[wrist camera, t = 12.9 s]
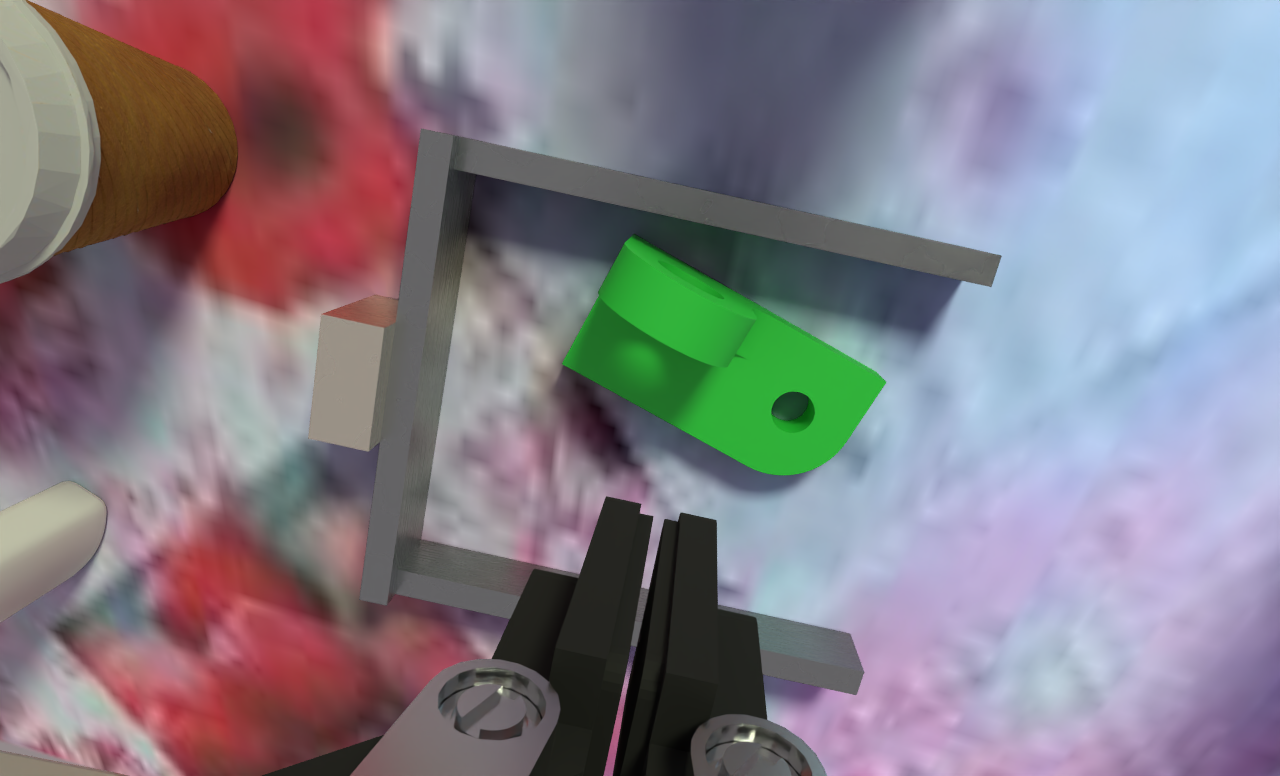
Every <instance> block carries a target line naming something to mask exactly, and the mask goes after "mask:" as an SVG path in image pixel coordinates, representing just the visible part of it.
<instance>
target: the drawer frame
mask: <svg viewBox="0 0 1280 776" xmlns="http://www.w3.org/2000/svg"><path fill="white" fill-rule="evenodd" d="M476 174H479V175H483V176H488V177H492V178H497V179H501V180H506V181H510V182H515V183H520V184H524V185H529V186H533V187H538V188H542V189H547V190H551V191H556V192H561V193H565V194H570V195H574V196H579V197H583V198H588V199H592V200H597V201H602V202H606V203H611V204H615V205H620V206H624V207H629V208H634V209H638V210H643V211H647V212H652V213H656V214H661V215H665V216H670V217H675V218H679V219H684V220H688V221H693V222H697V223H702V224H706V225H711V226H716V227H720V228H725V229H729V230H734V231H738V232H743V233H747V234H752V235H757V236H761V237H766V238H770V239H775V240H779V241H784V242H789V243H793V244H798V245H802V246H807V247H811V248H816V249H820V250H825V251H830V252H834V253H839V254H843V255H848V256H852V257H857V258H861V259H866V260H871V261H875V262H880V263H884V264H889V265H893V266H898V267H902V268H907V269H912V270H916V271H921V272H925V273H930V274H934V275H939V276H944V277H948V278H953V279H957V280H962V281H966V282H971V283H975V284H980V285H985V286H989V287H991V286H992V283H993V280H994V277H995V274H996V271H997V268H998V265H999V262H1000V259H1001V256H1000V255H996V254H992V253H988V252H983V251H979V250H975V249H970V248H966V247H961V246H956V245H952V244H947V243H943V242H938V241H934V240H929V239H925V238H920V237H915V236H911V235H906V234H902V233H897V232H893V231H888V230H884V229H879V228H874V227H870V226H865V225H861V224H856V223H852V222H847V221H842V220H838V219H833V218H829V217H824V216H820V215H815V214H811V213H806V212H801V211H797V210H792V209H788V208H783V207H779V206H774V205H770V204H765V203H760V202H756V201H751V200H747V199H742V198H738V197H733V196H729V195H724V194H719V193H715V192H710V191H706V190H701V189H697V188H692V187H687V186H683V185H678V184H674V183H669V182H665V181H660V180H656V179H651V178H646V177H642V176H637V175H633V174H628V173H624V172H619V171H615V170H610V169H605V168H601V167H596V166H592V165H587V164H583V163H578V162H573V161H569V160H564V159H560V158H555V157H551V156H546V155H542V154H537V153H532V152H528V151H523V150H519V149H514V148H510V147H505V146H501V145H496V144H491V143H487V142H482V141H478V140H473V139H469V138H464V137H460V136H455V135H450V134H445V133H440V132H435V131H430V130H426V129H421V133H420V141H419V149H418V156H417V164H416V172H415V179H414V187H413V194H412V202H411V210H410V217H409V225H408V233H407V240H406V248H405V256H404V263H403V271H402V278H401V286H400V294H399V300H396V299H391V298H387V297H382V296H378V295H373V296H370V297H367V298H365V299H362V300H359V301H356V302H354V303H351V304H348V305H345V306H343V307H340V308H337V309H334V310H331V311H329V312H326V313H323V314H321V323H320V332H319V342H318V351H317V361H316V370H315V380H314V389H313V399H312V408H311V418H310V427H309V437H308V438H309V439H313V440H318V441H322V442H327V443H331V444H336V445H341V446H345V447H350V448H354V449H359V450H363V451H368V452H369V451H370V450H371V449H372V448H373V447H375V446H376V445H377V444H378V443H379V442H380V446H379V454H378V462H377V469H376V477H375V484H374V492H373V500H372V507H371V515H370V523H369V530H368V538H367V546H366V553H365V561H364V568H363V576H362V584H361V591H360V599H359V600H363V601H368V602H372V603H377V604H381V605H386V606H387V605H388V603H389V602H390V600H391V599H392V598H393V596H394V595H395V594H398V595H403V596H407V597H412V598H416V599H421V600H425V601H430V602H434V603H439V604H444V605H448V606H453V607H457V608H462V609H466V610H471V611H475V612H480V613H485V614H489V615H494V616H498V617H503V618H507V619H510V618H511V616H512V614H513V612H514V610H515V607H516V605H517V603H518V601H519V599H520V597H521V594H522V592H523V590H524V588H525V586H526V584H527V581H528V579H529V577H530V575H531V573H532V571H533V570H534V569H540V570H544V571H549V572H553V573H558V574H562V575H567V576H572V577H576V578H579V575H580V574H575V573H571V572H566V571H562V570H557V569H553V568H548V567H543V566H539V565H534V564H530V563H525V562H521V561H516V560H512V559H507V558H502V557H498V556H493V555H489V554H484V553H480V552H475V551H471V550H466V549H461V548H457V547H452V546H448V545H443V544H439V543H434V542H430V541H425V540H421V536H422V529H423V522H424V516H425V509H426V503H427V496H428V489H429V483H430V476H431V469H432V463H433V456H434V450H435V443H436V436H437V430H438V423H439V416H440V410H441V403H442V396H443V390H444V383H445V377H446V370H447V363H448V357H449V350H450V343H451V337H452V330H453V324H454V317H455V310H456V304H457V297H458V290H459V284H460V277H461V271H462V264H463V257H464V251H465V244H466V237H467V231H468V224H469V217H470V211H471V204H472V198H473V191H474V184H475V178H476ZM648 592H649V590H648V589H644V588H641V590H640V596H639V601H638V607H637V613H636V618H635V624H634V630H633V636H632V641H631V646H635V647H637V642H638V637H639V633H640V628H641V624H642V619H643V615H644V610H645V605H646V601H647V596H648ZM718 609H722V610H726V611H731V612H735V613H740V614H744V615H749V616H753V617H756V619H757V624H758V634H759V644H760V654H761V663H762V673H763V675H767V676H772V677H776V678H781V679H785V680H790V681H794V682H799V683H803V684H808V685H813V686H817V687H822V688H826V689H831V690H835V691H840V692H844V693H849V694H854V695H857V692H858V689H859V686H860V683H861V680H862V677H863V674H864V670H863V668H862V665H861V662H860V659H859V657H858V654H857V651H856V648H855V646H854V643H853V640H852V637H851V635H850V634H849V633H844V632H840V631H835V630H830V629H826V628H821V627H817V626H812V625H808V624H803V623H799V622H794V621H789V620H785V619H780V618H776V617H771V616H767V615H762V614H758V613H753V612H748V611H744V610H739V609H735V608H730V607H726V606H721V605H718Z"/></svg>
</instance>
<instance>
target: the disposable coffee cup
mask: <svg viewBox="0 0 1280 776" xmlns="http://www.w3.org/2000/svg"><path fill="white" fill-rule="evenodd" d="M237 156H238V152H237V138H236V134H235V130H234V126H233V123H232V121H231V118H230V116H229V114H228V112H227V109H226V108H225V106H224V105H223V103H222V102H221V100H220V99H219V97H218V96H217V94H216V93H215V92H214V91H213V90H212V89H211V88H210V87H209V86H208V85H207V84H206V83H205V82H204V81H202V80H201V79H199V78H198V77H197V76H195V75H194V74H192V73H191V72H189V71H187V70H185V69H183V68H181V67H178V66H175V65H173V64H171V63H168V62H166V61H164V60H162V59H160V58H157V57H155V56H152V55H150V54H148V53H146V52H143V51H141V50H139V49H137V48H134V47H132V46H130V45H127V44H125V43H123V42H120V41H118V40H116V39H114V38H112V37H109V36H107V35H105V34H103V33H101V32H98V31H96V30H94V29H91V28H89V27H87V26H84V25H82V24H80V23H78V22H75V21H73V20H71V19H68V18H66V17H64V16H62V15H60V14H58V13H55V12H53V11H51V10H48V9H46V8H44V7H42V6H39V5H37V4H35V3H32V2H30V1H28V0H0V283H3V282H6V281H9V280H12V279H15V278H17V277H20V276H23V275H25V274H28V273H30V272H31V271H33V270H34V269H36V268H37V267H39V266H40V265H42V264H43V263H45V262H46V261H48V260H49V259H50V258H51V257H52V256H55V255H58V254H60V253H63V252H69V251H71V250H74V249H76V248H83V247H85V246H87V245H92V244H95V243H99V242H102V241H106V240H109V239H114V238H117V237H119V236H122V235H124V236H125V235H127V234H130V233H132V232H138V231H141V230H143V229H148V228H150V227H155V226H158V225H161V224H165V223H168V222H172V221H175V220H179V219H183V218H186V217H191V216H194V215H197V214H199V213H201V212H204V211H206V210H208V209H209V208H210V207H212V206H213V205H215V204H216V203H217V202H218V201H219V199H220V198H221V197H222V196H223V195H224V194H225V193H226V191H227V189H228V187H229V185H230V183H231V182H232V179H233V176H234V173H235V170H236V164H237Z"/></svg>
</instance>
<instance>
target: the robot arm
mask: <svg viewBox="0 0 1280 776" xmlns="http://www.w3.org/2000/svg"><path fill="white" fill-rule="evenodd" d="M640 508H641V504H639V503H635V502H630V501H625V500H621V499H616V498H611V497H607V496H606V498H605V501H604V504H603V507H602V510H601V513H600V516H599V519H598V522H597V525H596V528H595V531H594V534H593V537H592V540H591V543H590V546H589V549H588V552H587V555H586V557H585V560H584V563H583V566H582V569H581V572H580V575H579V578H576V577H572V576H567V575H562V574H558V573H553V572H549V571H544V570H540V569H534V570H533V571H532V573H531V575H530V577H529V579H528V581H527V584H526V586H525V588H524V590H523V592H522V594H521V597H520V599H519V601H518V603H517V605H516V607H515V610H514V612H513V614H512V616H511V618H510V620H509V623H508V625H507V627H506V629H505V631H504V633H503V636H502V638H501V640H500V642H499V644H498V646H497V649H496V651H495V653H494V655H493V657H492V659H477V660H471V661H466V662H460V663H458V664H456V665H453V666H451V667H449V668H446V669H444V670H443V671H441V672H440V673H439V674H438V675H437V676H435V677H434V678H433V679H432V680H431V681H430V682H429V683H428V684H427V685H426V686H425V688H424V689H423V690H422V691H421V692H420V694H419V695H418V696H417V697H416V698H415V699H414V701H413V702H412V703H411V704H410V705H409V706H408V708H407V709H406V710H405V711H404V712H403V714H402V715H401V716H400V717H399V718H398V719H397V721H396V722H395V723H394V724H393V725H392V727H391V728H390V729H389V730H388V731H387V732H386V734H385V735H382V736H379V737H376V738H373V739H370V740H367V741H364V742H361V743H358V744H355V745H352V746H349V747H346V748H343V749H340V750H337V751H334V752H331V753H328V754H325V755H322V756H319V757H316V758H313V759H310V760H307V761H304V762H301V763H298V764H295V765H292V766H289V767H286V768H283V769H280V770H277V771H274V772H271V773H268V774H265V775H262V776H603V775H604V771H605V766H606V761H607V757H608V752H609V748H610V743H611V738H612V734H613V729H614V725H615V720H616V715H617V711H618V706H619V701H620V697H621V692H622V688H623V683H624V678H625V673H626V668H627V663H628V658H629V652H630V647H631V641H632V636H633V630H634V624H635V618H636V613H637V607H638V601H639V596H640V590H641V584H642V579H643V573H644V567H645V562H646V556H647V550H648V544H649V539H650V533H651V527H652V522H653V516H649V515H645V514H640ZM0 776H128V775H124V774H119V773H115V772H110V771H105V770H100V769H94V768H89V767H84V766H79V765H74V764H68V763H63V762H58V761H53V760H47V759H42V758H37V757H32V756H27V755H21V754H16V753H11V752H6V751H1V750H0ZM613 776H827V775H826V772H825V769H824V768H823V766H822V764H821V762H820V761H819V759H818V757H817V755H816V754H815V753H814V752H813V751H812V750H811V748H810V747H809V746H808V745H807V744H806V743H805V742H804V741H803V740H802V739H800V738H799V737H797V736H796V735H795V734H793V733H792V732H790V731H789V730H787V729H786V728H784V727H782V726H780V725H777V724H775V723H773V722H771V721H768V720H767V712H766V703H765V693H764V683H763V673H762V663H761V654H760V644H759V634H758V624H757V619H756V617H753V616H749V615H744V614H740V613H735V612H731V611H726V610H722V609H718V593H717V522H716V520H713V519H709V518H704V517H699V516H695V515H690V514H686V513H680V516H679V520H678V522H677V521H672V520H668V519H665V520H664V524H663V528H662V533H661V537H660V542H659V546H658V551H657V555H656V560H655V564H654V569H653V574H652V578H651V583H650V587H649V592H648V596H647V601H646V605H645V610H644V615H643V619H642V624H641V628H640V633H639V637H638V642H637V647H636V651H635V656H634V660H633V665H632V669H631V674H630V679H629V684H628V689H627V694H626V699H625V705H624V711H623V717H622V723H621V729H620V735H619V741H618V747H617V753H616V759H615V765H614V771H613Z"/></svg>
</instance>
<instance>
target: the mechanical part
mask: <svg viewBox="0 0 1280 776" xmlns="http://www.w3.org/2000/svg"><path fill="white" fill-rule="evenodd" d="M598 294H599V297H598V298H597V300H596V302H595V304H594V306H593V308H592V309H591V311H590V313H589V315H588V317H587V319H586V320H585V322H584V324H583V326H582V328H581V330H580V331H579V333H578V335H577V337H576V339H575V341H574V343H573V344H572V346H571V348H570V350H569V352H568V354H567V355H566V357H565V359H564V361H563V363H562V364H563V365H565V366H567V367H568V368H570V369H572V370H574V371H576V372H577V373H579V374H581V375H583V376H585V377H587V378H588V379H590V380H592V381H594V382H596V383H597V384H599V385H601V386H603V387H605V388H606V389H608V390H610V391H612V392H614V393H616V394H617V395H619V396H621V397H623V398H625V399H626V400H628V401H630V402H632V403H634V404H635V405H637V406H639V407H641V408H643V409H645V410H646V411H648V412H650V413H652V414H654V415H655V416H657V417H659V418H661V419H663V420H664V421H666V422H668V423H670V424H672V425H674V426H675V427H677V428H679V429H681V430H683V431H684V432H686V433H688V434H690V435H692V436H693V437H695V438H697V439H699V440H701V441H703V442H704V443H706V444H708V445H710V446H712V447H713V448H715V449H717V450H719V451H721V452H722V453H724V454H726V455H728V456H730V457H732V458H733V459H735V460H737V461H739V462H741V463H742V464H744V465H746V466H748V467H750V468H752V469H754V470H757V471H759V472H763V473H767V474H772V475H794V474H800V473H804V472H807V471H810V470H812V469H815V468H817V467H819V466H821V465H822V464H824V463H826V462H827V461H828V460H830V459H831V458H832V457H833V456H835V455H836V454H837V453H838V452H839V451H840V449H841V448H842V447H843V446H844V444H845V443H846V442H847V440H848V439H849V437H850V436H851V434H852V433H853V431H854V430H855V428H856V427H857V425H858V424H859V422H860V421H861V419H862V418H863V416H864V415H865V413H866V412H867V410H868V409H869V407H870V406H871V404H872V403H873V401H874V400H875V398H876V397H877V395H878V394H879V392H880V391H881V389H882V388H883V386H884V385H885V383H886V381H885V380H884V379H883V378H882V377H881V376H880V375H879V374H878V373H877V372H875V371H874V370H872V369H870V368H868V367H867V366H865V365H863V364H861V363H860V362H858V361H856V360H854V359H853V358H851V357H849V356H847V355H846V354H844V353H842V352H840V351H839V350H837V349H835V348H833V347H832V346H830V345H828V344H826V343H825V342H823V341H821V340H819V339H818V338H816V337H814V336H812V335H811V334H809V333H807V332H805V331H804V330H802V329H800V328H798V327H796V326H795V325H793V324H791V323H789V322H788V321H786V320H784V319H782V318H781V317H779V316H777V315H775V314H774V313H772V312H770V311H768V310H767V309H765V308H763V307H761V306H760V305H758V304H756V303H754V302H753V301H751V300H749V299H747V298H746V297H744V296H742V295H740V294H739V293H737V292H735V291H733V290H732V289H730V288H728V287H726V286H724V285H723V284H721V283H719V282H717V281H716V280H714V279H712V278H710V277H709V276H707V275H705V274H703V273H702V272H700V271H698V270H696V269H695V268H693V267H691V266H689V265H688V264H686V263H684V262H682V261H681V260H679V259H677V258H675V257H674V256H672V255H670V254H668V253H667V252H665V251H663V250H661V249H660V248H658V247H656V246H654V245H653V244H651V243H649V242H647V241H645V240H644V239H642V238H640V237H638V236H637V235H635V234H633V235H632V236H631V237H630V238H629V239H628V240H627V241H626V242H625V243H624V245H623V247H622V249H621V251H620V253H619V254H618V256H617V258H616V260H615V262H614V264H613V265H612V267H611V269H610V271H609V273H608V275H607V277H606V278H605V280H604V282H603V284H602V286H601V288H600V289H599V291H598ZM787 392H800V393H803V394H805V395H806V396H808V406H807V408H806V410H805V412H804V413H803V414H802V415H801V416H800V417H798V418H796V419H793V420H781V419H778V418H776V417H775V416H774V415H773V414H772V413H771V410H772V406H773V404H774V402H775V401H776V399H777V398H778V397H779V396H781V395H783V394H785V393H787Z"/></svg>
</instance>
